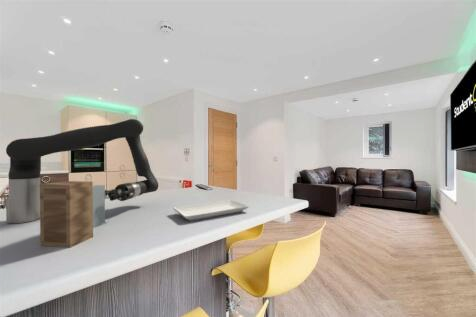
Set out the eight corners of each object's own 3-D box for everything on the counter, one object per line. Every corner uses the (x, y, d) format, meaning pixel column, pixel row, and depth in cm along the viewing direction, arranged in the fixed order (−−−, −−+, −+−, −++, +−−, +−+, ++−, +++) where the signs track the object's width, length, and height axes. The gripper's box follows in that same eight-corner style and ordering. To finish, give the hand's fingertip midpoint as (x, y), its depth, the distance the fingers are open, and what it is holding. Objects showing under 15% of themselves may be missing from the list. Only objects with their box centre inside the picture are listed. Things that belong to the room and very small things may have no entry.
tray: (250, 212, 100) (250, 205, 100) (184, 224, 83) (184, 215, 82) (231, 205, 114) (231, 199, 114) (172, 214, 97) (172, 207, 97)
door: (77, 234, 72) (77, 189, 72) (69, 234, 72) (69, 189, 72) (104, 223, 84) (104, 185, 83) (98, 223, 84) (97, 184, 84)
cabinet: (70, 247, 61) (69, 184, 61) (35, 245, 63) (34, 184, 63) (103, 232, 74) (103, 180, 74) (73, 230, 75) (73, 179, 75)
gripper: (114, 182, 100) (84, 187, 84) (142, 183, 98) (117, 188, 82) (114, 198, 100) (84, 206, 84) (142, 199, 98) (117, 207, 82)
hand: (100, 197), depth 83 cm, fingers open, 8 cm apart
